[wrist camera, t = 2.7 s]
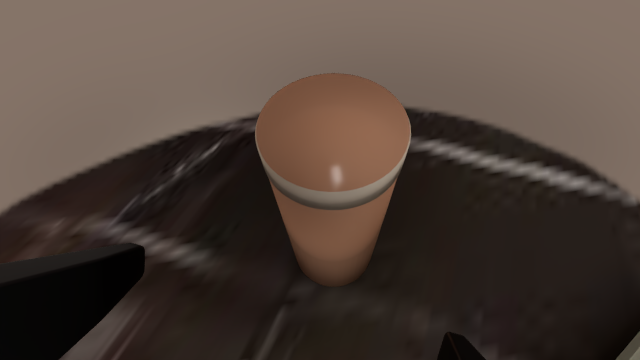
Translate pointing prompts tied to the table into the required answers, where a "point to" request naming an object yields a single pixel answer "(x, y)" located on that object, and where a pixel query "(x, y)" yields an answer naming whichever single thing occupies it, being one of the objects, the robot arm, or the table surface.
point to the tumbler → (333, 168)
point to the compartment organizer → (631, 350)
